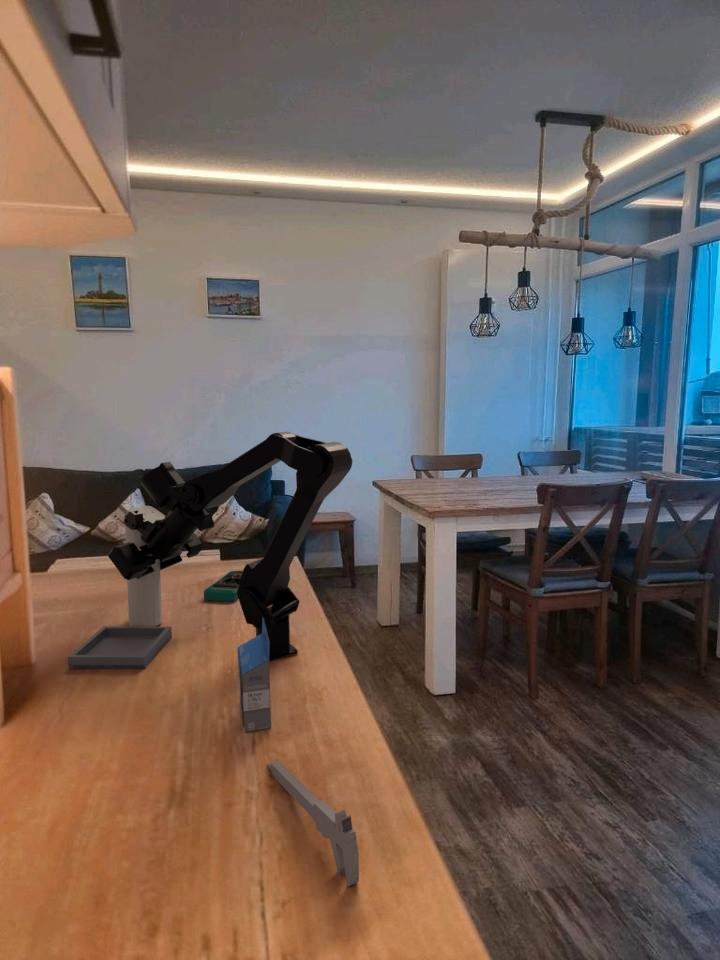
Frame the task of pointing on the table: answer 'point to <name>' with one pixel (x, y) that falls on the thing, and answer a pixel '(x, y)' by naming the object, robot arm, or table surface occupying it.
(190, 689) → the table surface
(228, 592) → the digital multimeter
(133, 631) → the tray
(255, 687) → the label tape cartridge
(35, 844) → the table surface
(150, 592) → the paper towel roll
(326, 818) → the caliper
